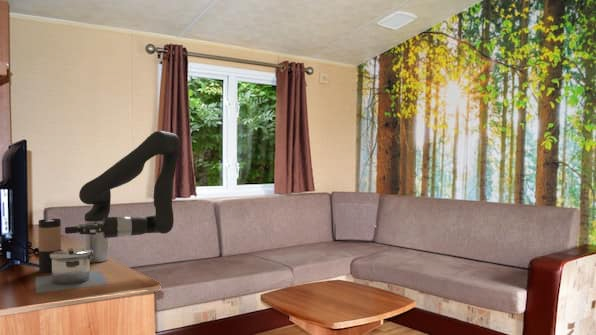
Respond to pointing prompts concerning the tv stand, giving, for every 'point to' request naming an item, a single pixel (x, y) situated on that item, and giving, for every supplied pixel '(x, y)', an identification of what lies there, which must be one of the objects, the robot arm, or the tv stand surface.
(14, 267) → the tv stand surface
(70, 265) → the pot
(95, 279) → the mat
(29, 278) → the tv stand surface
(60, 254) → the lid
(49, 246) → the travel mug
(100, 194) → the robot arm
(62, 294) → the tv stand surface
